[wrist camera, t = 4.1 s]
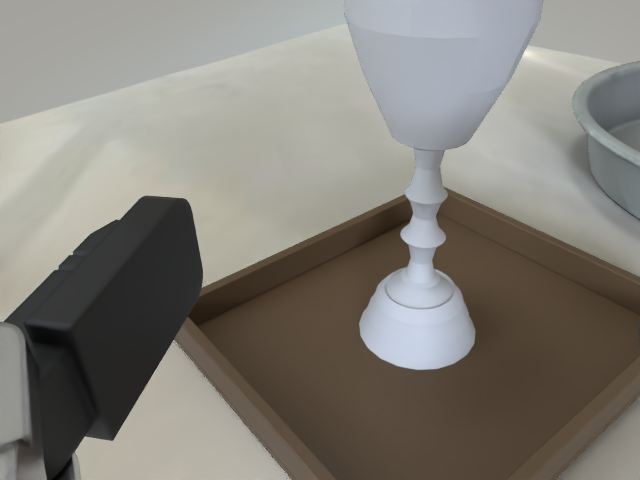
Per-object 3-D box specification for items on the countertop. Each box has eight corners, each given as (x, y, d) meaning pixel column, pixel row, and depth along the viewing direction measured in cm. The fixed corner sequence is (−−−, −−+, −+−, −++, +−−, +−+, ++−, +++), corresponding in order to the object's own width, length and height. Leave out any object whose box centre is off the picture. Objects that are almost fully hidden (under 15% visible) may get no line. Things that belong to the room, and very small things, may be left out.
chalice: (536, 350, 24) (662, -193, 14) (400, 416, 21) (434, -190, 11) (428, 261, 29) (462, -172, 19) (309, 306, 27) (278, -168, 17)
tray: (430, 207, 34) (432, 181, 33) (694, 341, 24) (708, 308, 23) (171, 335, 26) (163, 305, 25) (411, 622, 16) (414, 590, 15)
